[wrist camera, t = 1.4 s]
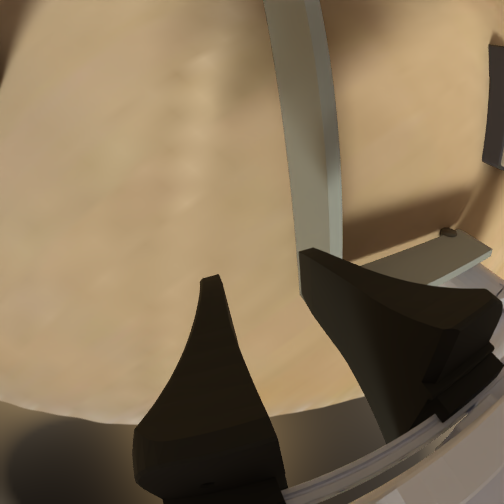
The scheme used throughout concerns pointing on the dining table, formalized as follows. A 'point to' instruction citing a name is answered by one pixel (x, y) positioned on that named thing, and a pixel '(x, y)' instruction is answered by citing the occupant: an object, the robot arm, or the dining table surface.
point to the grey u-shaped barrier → (337, 153)
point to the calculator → (495, 110)
